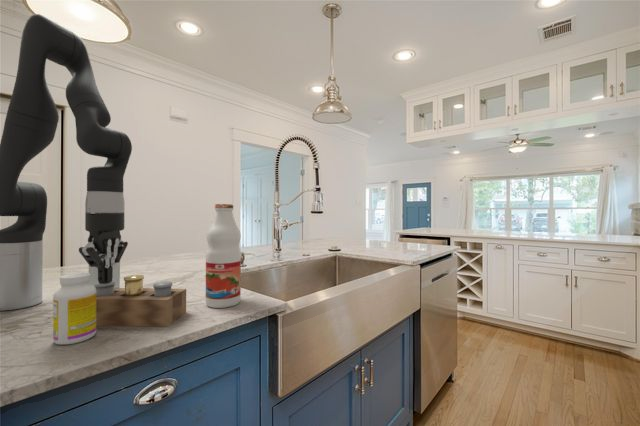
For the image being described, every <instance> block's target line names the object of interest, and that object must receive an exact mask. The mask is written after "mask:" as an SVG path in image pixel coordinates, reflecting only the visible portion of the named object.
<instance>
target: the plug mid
mask: <svg viewBox="0 0 640 426" xmlns="http://www.w3.org/2000/svg"><path fill="white" fill-rule="evenodd" d="M144 278H145V276H144V275H143V274H132V275H126V276H124V277H123V281H124V288H125V296H139V295H141V294H143V287H144Z"/></svg>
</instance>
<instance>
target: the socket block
mask: <svg viewBox="0 0 640 426" xmlns="http://www.w3.org/2000/svg"><path fill="white" fill-rule="evenodd" d="M186 313H187V288H171V295H169V296H167V297H154V287H152V288H143V294H141V295H139V296H125V287H120V288H114V293H113V294H111V295H108V296H96V327H97V326H99V327H100V326H101V327H102V326H103V327H106V326H107V327H108V326H110V327H112V326H115V327H168V326H170V325H171V324H173V322H175V321H177V320H178V319H179V318H180V317H182V316H183V315H184V314H186Z"/></svg>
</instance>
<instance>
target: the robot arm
mask: <svg viewBox="0 0 640 426" xmlns="http://www.w3.org/2000/svg"><path fill="white" fill-rule="evenodd" d="M19 46H20V47H19V57H18V64H17V65H18V66H17V71H16V72H17V73H16V77H15V82H14V86H13V89H12V90H13V91H12V94H11V97H10V101H9V104H8V107H7V111H6V115H5V119H4V123H3V124H4V125H3V130H2V131H3V132H2V135H1V139H0V217H17V219H16V221H15V222H14V223H13V224H11V225H10V226H7V227H4V228H2V229H0V311H13V310H18V309H19V310H20V309H25V308H30V307H33V306H36V305H38V304H40V303H43V276H44V275H43V272H44V271H43V269H44V268H43V265H44V264H43V260H44V259H43V248H44V247H43V246H44V245H43V242H44V241H43V237H44V236H43V235H44V233H45V232H46V230H45V229H46V224H47V213H48V212H47V211H48V195H47V192H46V190H45V188H44V187H43V186H42V185H40V184H39V183H36V182H34V183H33V182H24V181H18V180H19V178H20V175H21V173H22V171H23V170H24V168H25V166H26V165H27V164H29V162H30V161H31V160H32V159H34V158H35V157H36V156H38V155H39V154H40V153H42V152H43V151H44V150H45V149H46V148H47V147H49V145H51V143H52V142H53V141H54V139H55V137H56V136H55V135H56V132H57V129H58V124H59V119H60V116H59V111H58V108H57V105H56V103H55V101H54V99H53V96H52V93H51V91H50V89H49V87H48V85H47V79H46V64H47V60H48V61H50V62H53V63H55V64H57V65H59V66H62V67H65V68H66V69H67V70H68V72H69V74H70V75H71V76H72V77H71V79H70V81H68V83H67V85H66V88H65V98H66V100H67V104H68V107H69V108H70V111H71V112H72V115H73V117H74V119H75V120H74V121H75V130H76V131H75V132H76V133H75V135H76V137H75V139H76V144H77V146H78V147H79V148H80V149H81V151H83V152H84V153H86V154H87V155H90V156H96V157H100V158H101V157H102V158H106V159H107V160H106V162H105V164H104V166H103V165H102V166H100V165H99V166H91V167H89V168H88V170H87V172H86V173H87V174H86V195H85V196H86V197H85V203H84V204H85V209H84V211H85V215H84V216H85V217H84V218H85V219H84V224H85V225H84V227H85V231H87V232H89V236H88V238H87V242H88V243H87V244H85V246H80V247H79V248H78V252H79V254H80V255H81V256H82V258H83V259H84V260H85V262H86V263H87V264H88V267H89V266H90V267H96V268H98V282H99V283H100V284H107V283H110V282H112V277H113V266H114V265H115V263H119V261H120V262H121V259H122V258H123V256H124V253H125V251H126V249H127V247H128V244H129V243H128V241H123V240H122V235H121V231H123V230H125V197H124V176H125V173H126V170H127V167H128V164H129V160H130V158H131V156H132V151H133V145H132V141H131V138H130V137H129V136H128V135H127V134H126V133H125V132H123V131H120V130H117V129H112V128H110V127H109V128H108V126H109V125H110V123H111V122H112V121H111V118H112V117H111V114H110V111H109V109H108V107H107V106H106V104H105V101H104V100H103V98H102V95H101V94H100V92H99V88H98V86H97V84H96V78H95V75H94V71H93V67H92V63H91V59H90V56H89V55H90V54H89V51H88V49H87V45H86V44H85V42H84V40H83V39H82V38H81V37H80V35H78V34H76V33H75V32H73V31H72V30H70V29H68V28H66V27H65V26H63V25H61V24H59V23H58V22H56V21H54V20H52V19H51V18H48V17H47V16H45V15H42V14H39V13H35V14H32V15H30V16H29V17H28V18H27V20H26V21H25V23H24V25H23V29H22V33H21V39H20V45H19Z"/></svg>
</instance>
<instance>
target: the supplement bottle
mask: <svg viewBox="0 0 640 426" xmlns="http://www.w3.org/2000/svg"><path fill="white" fill-rule="evenodd" d="M89 281H90V274H89V272H77V273H69V274H64V275H61V276H60V277H59V284H60V286H61V287H60V288H59V289H57V290H55V291H54V293H53V295H52V296H53V297H52V301H53V302H52V309H53V310H52V311H53V312H52V314H53V315H52V326H53V327H52V329H53V330H52V337H53V338H52V339H53V343H54V344H55V345H62V346H63V345H65V346H66V345H73V344H78V343H82V342H85V341H87V340H89V339H91V338H92V337H94V336H95V335H96V333H97V325H96V288H95V287H94V286H92V285H89Z"/></svg>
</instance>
